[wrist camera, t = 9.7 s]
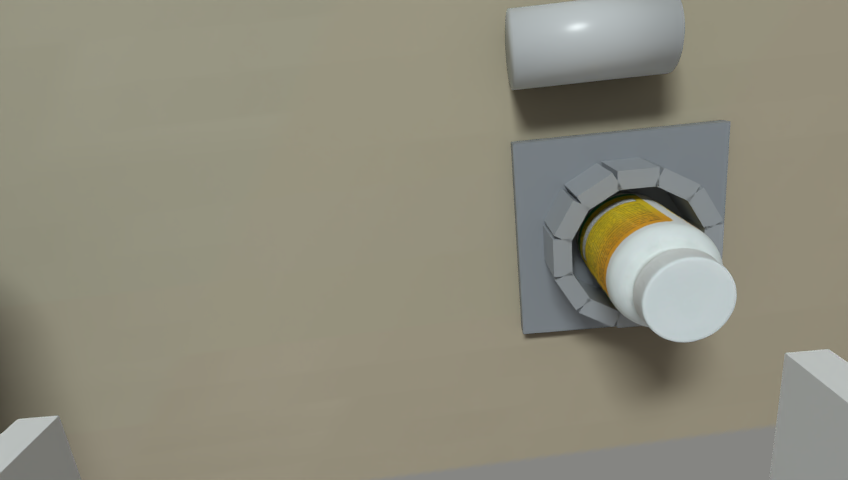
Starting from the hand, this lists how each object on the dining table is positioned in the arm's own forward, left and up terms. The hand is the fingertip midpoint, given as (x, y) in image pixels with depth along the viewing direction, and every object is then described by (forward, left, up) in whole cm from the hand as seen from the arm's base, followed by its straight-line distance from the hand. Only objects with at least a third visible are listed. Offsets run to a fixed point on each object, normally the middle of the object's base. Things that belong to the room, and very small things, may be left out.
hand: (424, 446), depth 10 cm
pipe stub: (+9, +7, -24) cm, 26 cm away
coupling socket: (+11, -4, -24) cm, 26 cm away
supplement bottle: (+11, -4, -23) cm, 26 cm away
